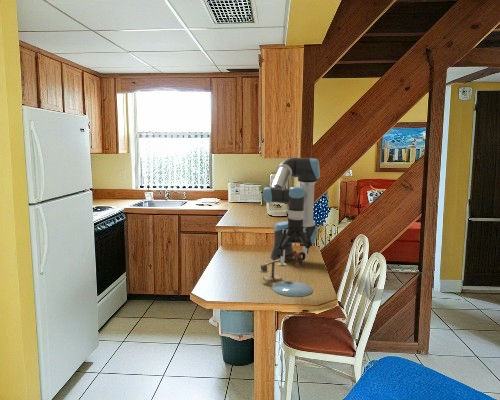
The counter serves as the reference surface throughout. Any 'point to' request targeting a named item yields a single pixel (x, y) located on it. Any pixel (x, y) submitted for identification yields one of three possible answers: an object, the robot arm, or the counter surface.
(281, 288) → the plate
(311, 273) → the counter surface
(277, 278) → the balance
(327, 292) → the counter surface
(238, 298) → the counter surface
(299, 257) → the pottery mug
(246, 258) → the counter surface
